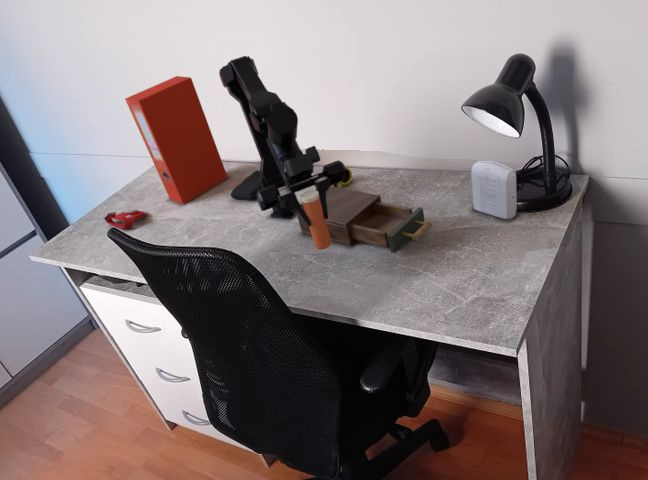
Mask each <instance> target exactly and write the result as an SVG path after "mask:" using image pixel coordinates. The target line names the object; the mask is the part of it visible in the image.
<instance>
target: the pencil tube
mask: <svg viewBox="0 0 648 480" xmlns="http://www.w3.org/2000/svg"><path fill="white" fill-rule="evenodd" d="M300 201H301V203H302V204H301V205H302V208H303V207H304V211H305V214H306V215H307V217H308V219H309V222H310V224H311V226H310V227H309V228H310V231H311V234H312V236H311V237H312V241H313V245H314V247H315V249H317V250H326V249H328V248H329V247H330V246H332V244H333V242H332V241H331V238H330V235H329V231H328V227H327V223H326V220H325V216H324V212H323V209H322V205H321V201H320V198H319V193H318V191H316V189H310V190H306V191H304V192H302V193H301V194H300Z"/></svg>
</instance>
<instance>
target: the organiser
mask: <svg viewBox="0 0 648 480" xmlns="http://www.w3.org/2000/svg"><path fill="white" fill-rule="evenodd" d="M326 202H327V211H328V219H327V220H326V219H325V220H326V223H327V227H328V231H329V235H330V238H331V242H332V243H337V244H340V245H344V246H347V247H352V246H353V245H355V244H356V243H357V242H358V240H354V239H351V235H350V231H349V227H348V225H349V224H351V223H352V222H353V221H354V220H355V219H356V218H358V217H359V216H360V215H361V214H362V213H364V212H365V211H366V210H367V209H368V208H369V207H371V206H372V205H373V204H374V203H375V202H381V203H383V202H382V198H381V194H375V193H371V192H370V193H369V192H366V191H365V192H364V191H359V190H353V189H348V188H344V187H343V188H342V187H340V188H338V187H333V186H331V187H330V188H329V190H328V191H326ZM302 209H303V210H304V207H303V206H302ZM304 212H305V211H304ZM296 217H297V220H298V223H299V226H300V229H301V233H302V235H306V236H309V237H312V234H311V231H310V228H309V227H308V226H307V225H306V224H305V223H304V222H303V221H302V220H301V219H300V218H299V217H298V216H297V215H296Z"/></svg>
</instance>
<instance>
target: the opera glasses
mask: <svg viewBox="0 0 648 480" xmlns="http://www.w3.org/2000/svg"><path fill="white" fill-rule="evenodd" d="M345 168H346V170H347V171H346V174H345V177H344V180H343V181H341V182H339V183H336V184H334V185H331V186H333V187H338V188H341V185H342V186H346V185H347V186H348V185H349V184H350V183H351V181H352V178H353V173H352V170H351V169H350V168H349V167H347V166H345ZM331 186H329V188H330V187H331Z"/></svg>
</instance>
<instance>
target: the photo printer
mask: <svg viewBox="0 0 648 480" xmlns="http://www.w3.org/2000/svg"><path fill="white" fill-rule="evenodd" d="M470 171H471V172H470V173H471V187H472V200H473V201H472V204H473V209H474V210H475V211H477V212H480V213H484V214H487V215H490V216H493V217H497V218H500V219H504V220H511V219H513V218H514V217H515V216H516V213H517V210H518V209H517V208H518V207H517V206H518V204H517V203H518V202H517V201H518V199H517V172H516V170H514V168H511V167H510V166H509V165H507V164H503V163H502V162H498V161H492V160H478V161H476V162H475V163H473V165H472V167H471V170H470Z"/></svg>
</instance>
